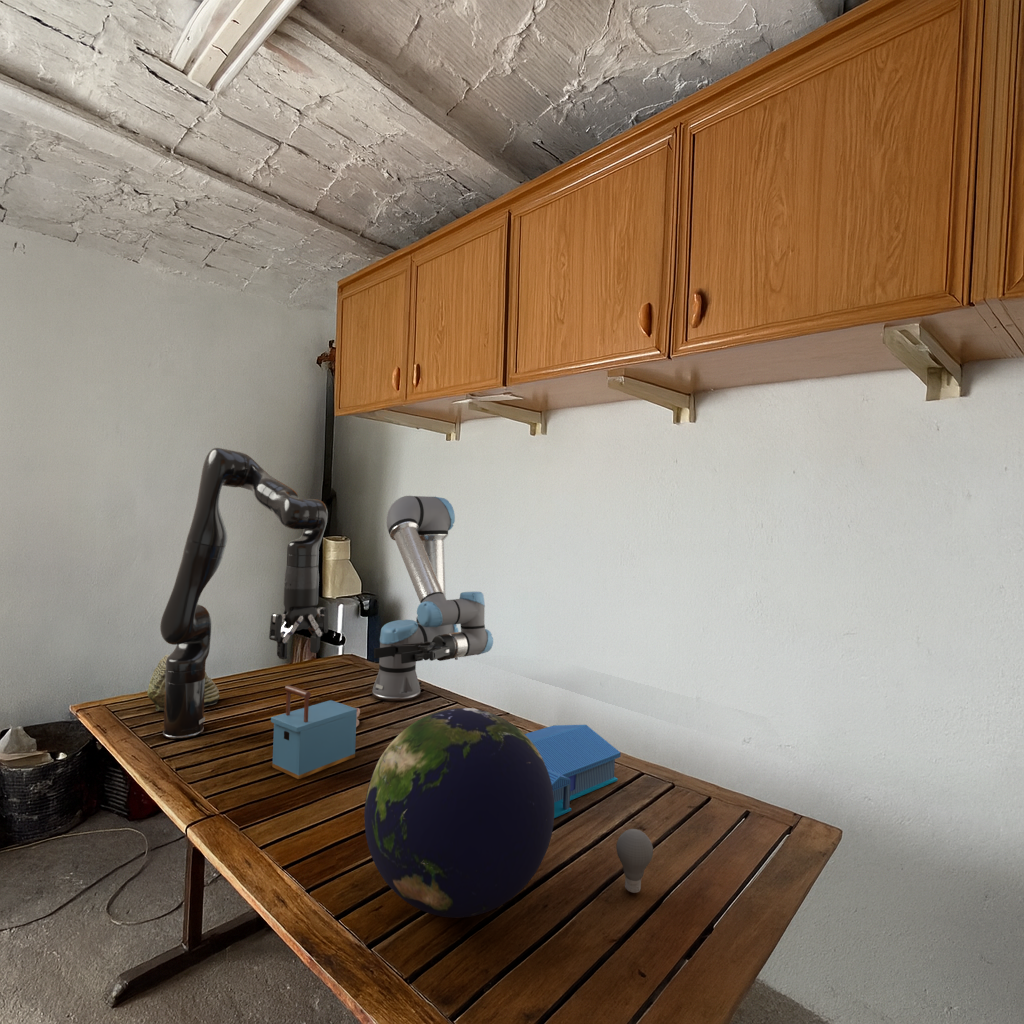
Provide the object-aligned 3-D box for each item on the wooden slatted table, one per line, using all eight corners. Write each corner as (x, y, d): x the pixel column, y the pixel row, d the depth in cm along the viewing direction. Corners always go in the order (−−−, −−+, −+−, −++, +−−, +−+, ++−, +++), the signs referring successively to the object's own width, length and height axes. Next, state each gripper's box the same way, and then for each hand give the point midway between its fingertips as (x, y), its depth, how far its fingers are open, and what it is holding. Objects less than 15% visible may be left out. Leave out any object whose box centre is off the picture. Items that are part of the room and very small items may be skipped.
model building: (501, 841, 119) (503, 788, 119) (426, 793, 137) (428, 747, 137) (629, 785, 145) (631, 742, 145) (552, 750, 163) (554, 712, 163)
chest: (298, 779, 141) (300, 731, 141) (272, 767, 147) (273, 721, 147) (355, 757, 155) (356, 713, 154) (329, 746, 160) (330, 704, 160)
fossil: (144, 707, 182) (145, 655, 182) (212, 696, 194) (213, 647, 194) (151, 716, 175) (153, 662, 175) (221, 703, 188) (223, 653, 188)
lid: (297, 732, 140) (298, 696, 140) (270, 722, 146) (271, 687, 146) (356, 713, 154) (358, 680, 154) (330, 704, 160) (331, 672, 160)
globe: (319, 928, 93) (327, 726, 93) (422, 833, 121) (429, 676, 120) (506, 997, 82) (516, 767, 81) (573, 874, 109) (581, 702, 109)
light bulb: (610, 879, 108) (613, 822, 108) (644, 879, 109) (647, 822, 109) (619, 902, 102) (622, 840, 102) (655, 901, 103) (658, 840, 103)
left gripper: (284, 590, 138) (281, 664, 138) (337, 584, 149) (334, 653, 149) (264, 586, 142) (261, 658, 142) (316, 581, 153) (314, 647, 154)
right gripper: (476, 663, 180) (414, 675, 165) (423, 655, 198) (364, 664, 183) (475, 637, 181) (414, 646, 166) (423, 630, 198) (363, 638, 184)
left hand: (298, 655), depth 146 cm, fingers open, 8 cm apart
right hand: (387, 655), depth 174 cm, fingers open, 13 cm apart
